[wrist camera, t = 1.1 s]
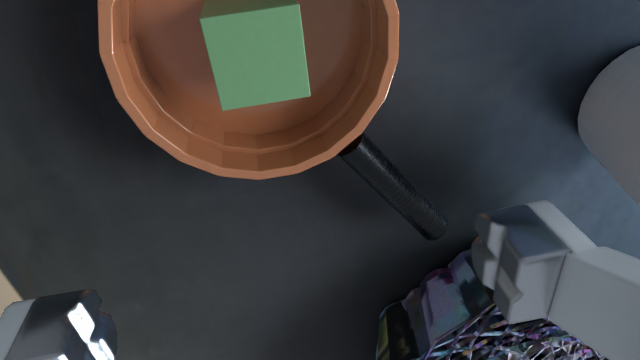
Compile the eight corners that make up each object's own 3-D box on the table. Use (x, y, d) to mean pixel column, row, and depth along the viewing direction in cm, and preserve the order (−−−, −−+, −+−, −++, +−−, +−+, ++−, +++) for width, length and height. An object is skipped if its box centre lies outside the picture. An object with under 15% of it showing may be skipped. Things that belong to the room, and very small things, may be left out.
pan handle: (333, 145, 27) (340, 161, 25) (357, 124, 26) (366, 139, 25) (418, 227, 32) (429, 246, 30) (441, 211, 32) (452, 229, 30)
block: (223, 79, 25) (222, 111, 22) (203, -3, 23) (198, 18, 19) (299, 67, 26) (310, 96, 22) (288, -15, 23) (299, 3, 20)
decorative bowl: (292, 350, 44) (302, 458, 36) (491, 151, 32) (570, 249, 24) (465, 393, 55) (500, 484, 47) (662, 257, 43) (754, 349, 35)
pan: (61, 26, 23) (29, 52, 19) (250, -200, 19) (256, -221, 16) (255, 179, 30) (259, 219, 27) (419, 36, 27) (450, 59, 23)
